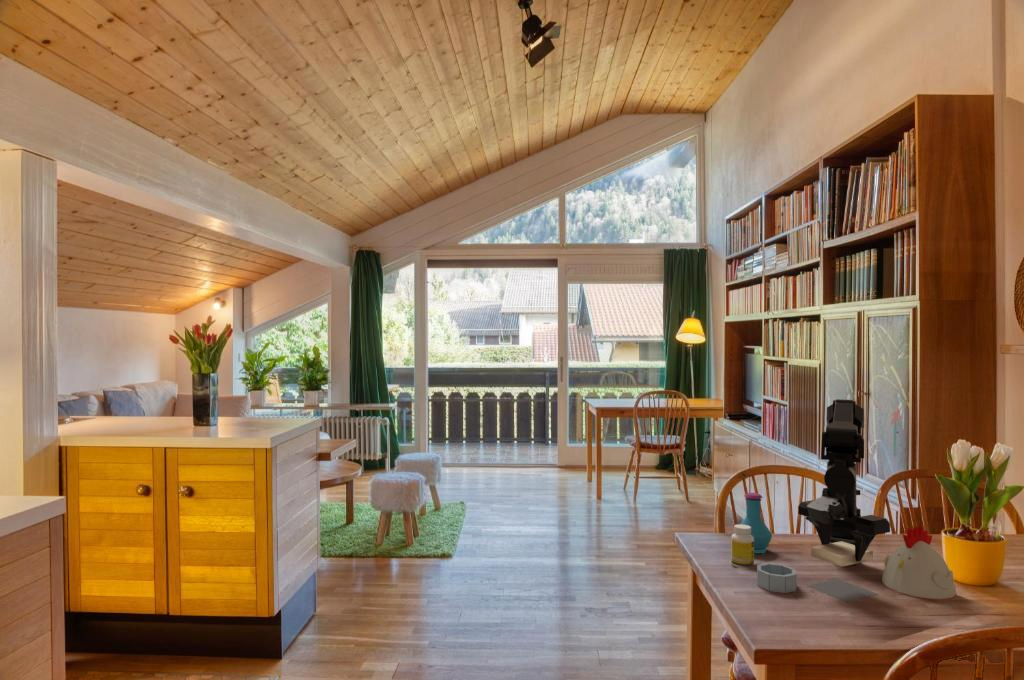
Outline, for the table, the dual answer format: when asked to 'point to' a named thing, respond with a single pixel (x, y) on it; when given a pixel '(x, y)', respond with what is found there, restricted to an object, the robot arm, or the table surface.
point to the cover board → (839, 553)
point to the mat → (842, 590)
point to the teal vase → (756, 523)
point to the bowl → (776, 577)
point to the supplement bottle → (742, 546)
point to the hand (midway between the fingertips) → (841, 555)
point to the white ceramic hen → (918, 568)
